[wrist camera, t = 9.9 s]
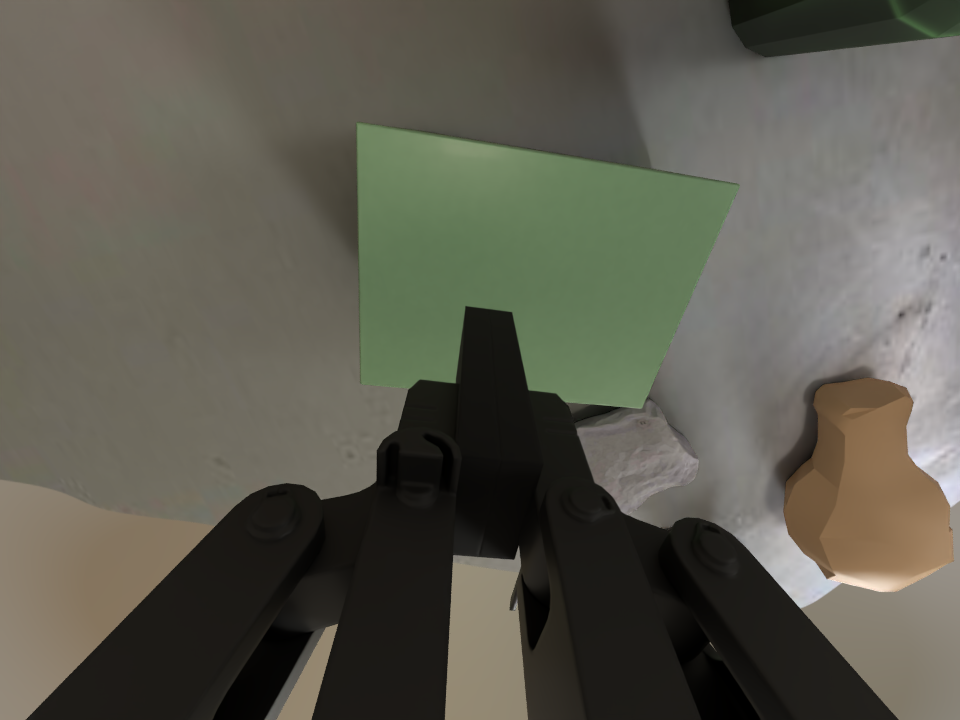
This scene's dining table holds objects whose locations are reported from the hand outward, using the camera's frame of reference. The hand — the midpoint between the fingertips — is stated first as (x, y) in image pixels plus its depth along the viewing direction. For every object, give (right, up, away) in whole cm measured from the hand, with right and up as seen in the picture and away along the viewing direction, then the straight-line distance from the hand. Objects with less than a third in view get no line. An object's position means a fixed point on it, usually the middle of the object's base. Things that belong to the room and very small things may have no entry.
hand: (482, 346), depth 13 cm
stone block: (+11, -8, +22) cm, 26 cm away
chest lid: (+2, +3, +6) cm, 7 cm away
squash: (+32, -9, +23) cm, 41 cm away
